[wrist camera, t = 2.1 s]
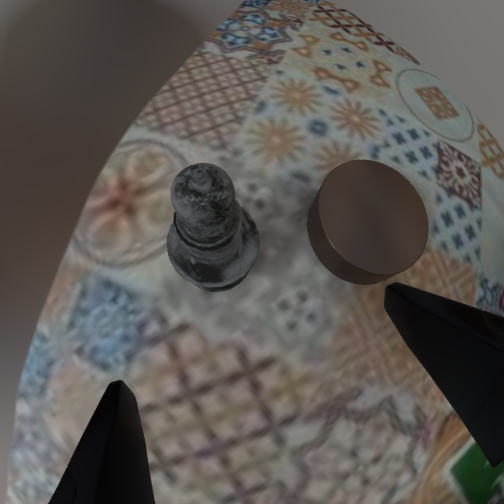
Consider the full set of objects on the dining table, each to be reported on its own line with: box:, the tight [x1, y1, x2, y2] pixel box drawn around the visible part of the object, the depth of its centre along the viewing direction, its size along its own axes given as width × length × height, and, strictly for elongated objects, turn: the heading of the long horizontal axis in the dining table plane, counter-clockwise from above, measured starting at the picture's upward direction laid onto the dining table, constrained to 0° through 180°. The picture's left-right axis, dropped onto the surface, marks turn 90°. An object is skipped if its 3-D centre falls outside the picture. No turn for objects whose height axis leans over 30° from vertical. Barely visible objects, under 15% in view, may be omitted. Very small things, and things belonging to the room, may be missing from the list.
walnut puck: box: [307, 160, 428, 285], centre depth 23 cm, size 9×9×4 cm
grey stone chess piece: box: [167, 163, 259, 292], centre depth 17 cm, size 6×6×12 cm
